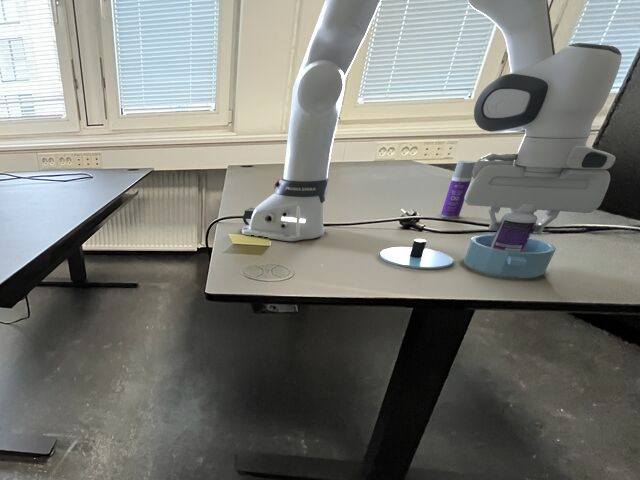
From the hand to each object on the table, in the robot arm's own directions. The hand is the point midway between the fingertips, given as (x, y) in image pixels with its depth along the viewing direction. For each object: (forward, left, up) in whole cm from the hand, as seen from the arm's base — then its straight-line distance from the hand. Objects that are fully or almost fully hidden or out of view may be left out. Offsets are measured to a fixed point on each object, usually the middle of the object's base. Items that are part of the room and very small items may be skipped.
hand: (513, 231), depth 81 cm
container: (-6, +47, -8) cm, 48 cm away
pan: (+1, 0, -8) cm, 8 cm away
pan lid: (-15, -1, -7) cm, 17 cm away
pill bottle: (0, 0, -4) cm, 4 cm away
